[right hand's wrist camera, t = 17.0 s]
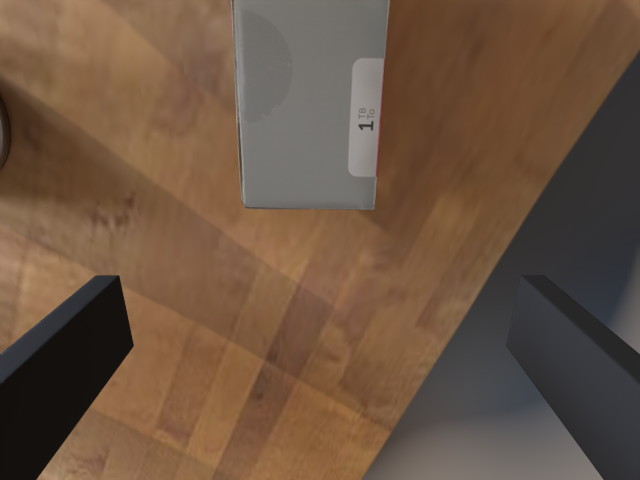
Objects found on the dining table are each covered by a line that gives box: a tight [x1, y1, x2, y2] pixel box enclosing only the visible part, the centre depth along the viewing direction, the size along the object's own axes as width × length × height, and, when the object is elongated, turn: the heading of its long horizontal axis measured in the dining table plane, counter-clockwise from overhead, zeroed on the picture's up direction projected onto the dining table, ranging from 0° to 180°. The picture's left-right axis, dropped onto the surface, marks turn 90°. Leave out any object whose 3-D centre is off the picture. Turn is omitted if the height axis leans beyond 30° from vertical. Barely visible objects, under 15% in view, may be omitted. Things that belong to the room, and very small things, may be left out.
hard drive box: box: [231, 0, 390, 210], centre depth 28 cm, size 16×8×20 cm, turn 179°
